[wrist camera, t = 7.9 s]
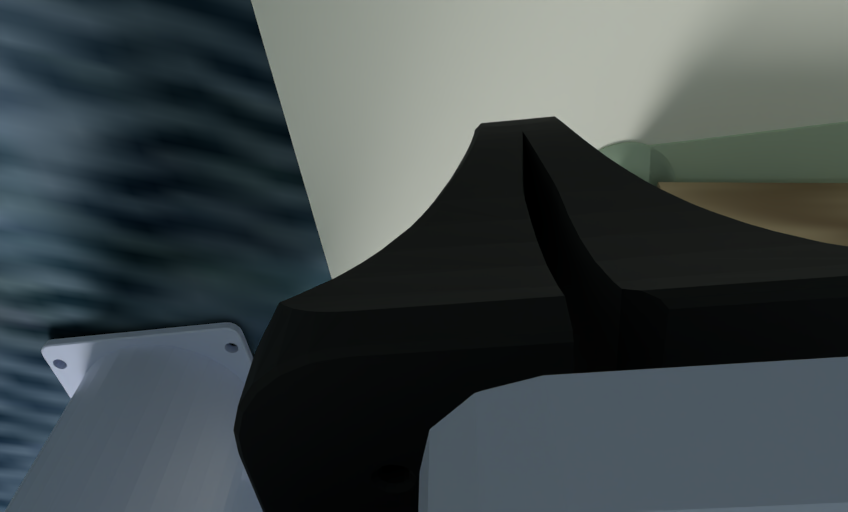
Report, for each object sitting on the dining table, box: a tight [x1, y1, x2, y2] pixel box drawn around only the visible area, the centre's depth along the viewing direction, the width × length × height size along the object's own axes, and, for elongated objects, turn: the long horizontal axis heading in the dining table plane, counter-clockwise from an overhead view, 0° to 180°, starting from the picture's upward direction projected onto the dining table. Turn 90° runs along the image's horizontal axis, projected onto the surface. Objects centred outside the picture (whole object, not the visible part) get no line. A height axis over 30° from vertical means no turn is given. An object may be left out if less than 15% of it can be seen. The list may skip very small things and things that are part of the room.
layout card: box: [251, 0, 848, 279], centre depth 22 cm, size 26×24×1 cm
